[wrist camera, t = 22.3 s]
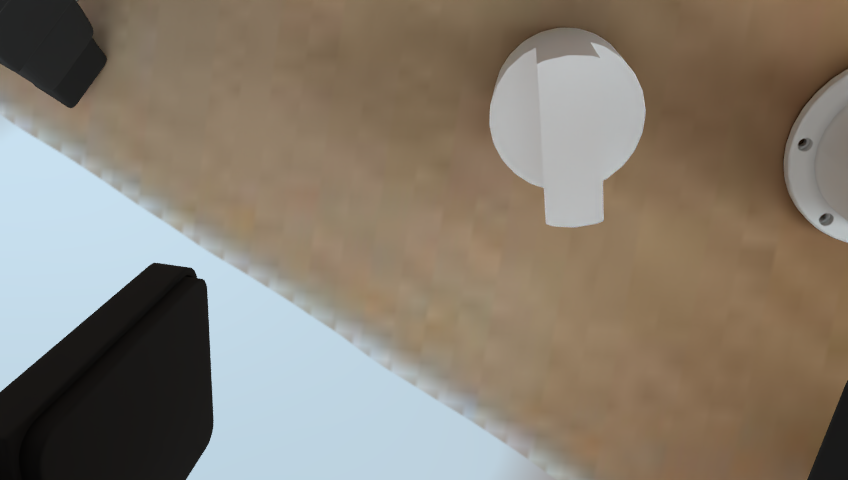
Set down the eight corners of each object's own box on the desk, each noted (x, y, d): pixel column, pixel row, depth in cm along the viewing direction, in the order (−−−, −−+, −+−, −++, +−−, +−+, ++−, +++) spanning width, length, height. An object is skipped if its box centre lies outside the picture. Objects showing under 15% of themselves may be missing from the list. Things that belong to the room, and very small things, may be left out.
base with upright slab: (488, 34, 45) (475, 64, 34) (631, 19, 43) (665, 45, 33) (499, 167, 48) (490, 232, 38) (632, 157, 47) (663, 222, 36)
